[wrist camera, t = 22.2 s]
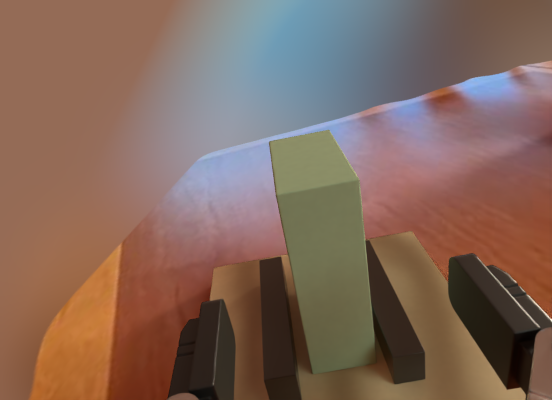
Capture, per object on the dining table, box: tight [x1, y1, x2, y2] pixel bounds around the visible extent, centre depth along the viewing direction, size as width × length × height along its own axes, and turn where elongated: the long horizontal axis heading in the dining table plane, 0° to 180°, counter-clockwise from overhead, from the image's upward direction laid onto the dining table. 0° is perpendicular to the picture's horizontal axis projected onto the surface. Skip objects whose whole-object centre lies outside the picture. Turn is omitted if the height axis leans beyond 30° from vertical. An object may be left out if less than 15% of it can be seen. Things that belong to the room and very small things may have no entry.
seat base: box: [210, 231, 526, 400], centre depth 24 cm, size 16×16×4 cm
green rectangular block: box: [269, 130, 377, 374], centre depth 22 cm, size 4×7×11 cm, turn 3°
